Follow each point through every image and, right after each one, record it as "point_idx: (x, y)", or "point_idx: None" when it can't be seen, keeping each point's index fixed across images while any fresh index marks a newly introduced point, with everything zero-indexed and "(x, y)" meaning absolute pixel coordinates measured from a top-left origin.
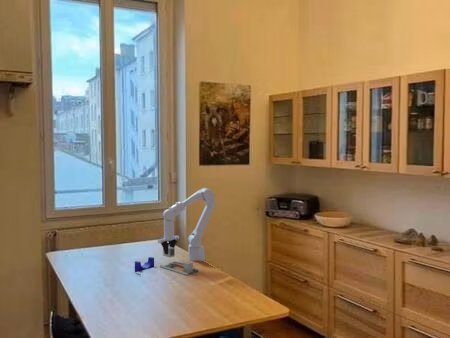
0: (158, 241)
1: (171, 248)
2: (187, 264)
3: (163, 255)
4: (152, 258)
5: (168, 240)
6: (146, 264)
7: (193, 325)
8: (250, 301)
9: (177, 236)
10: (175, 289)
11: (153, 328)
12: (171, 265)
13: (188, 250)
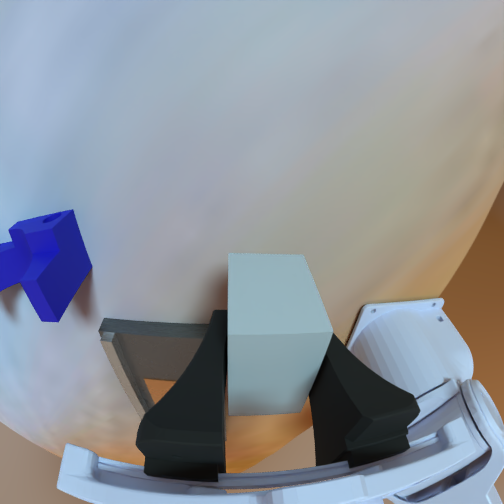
0: (66, 467)
1: (257, 413)
2: None
3: (228, 259)
4: (44, 320)
5: (267, 487)
6: (32, 254)
7: None
8: None
9: (419, 483)
10: (86, 430)
11: (26, 436)
12: (183, 356)
13: (395, 382)
